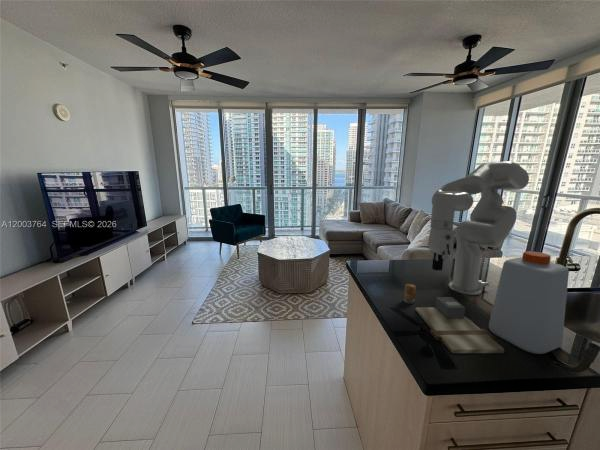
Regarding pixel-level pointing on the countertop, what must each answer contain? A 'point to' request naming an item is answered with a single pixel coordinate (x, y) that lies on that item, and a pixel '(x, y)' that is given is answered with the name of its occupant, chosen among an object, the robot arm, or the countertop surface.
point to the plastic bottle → (531, 303)
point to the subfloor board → (459, 333)
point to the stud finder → (450, 307)
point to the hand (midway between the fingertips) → (436, 269)
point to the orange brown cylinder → (409, 293)
